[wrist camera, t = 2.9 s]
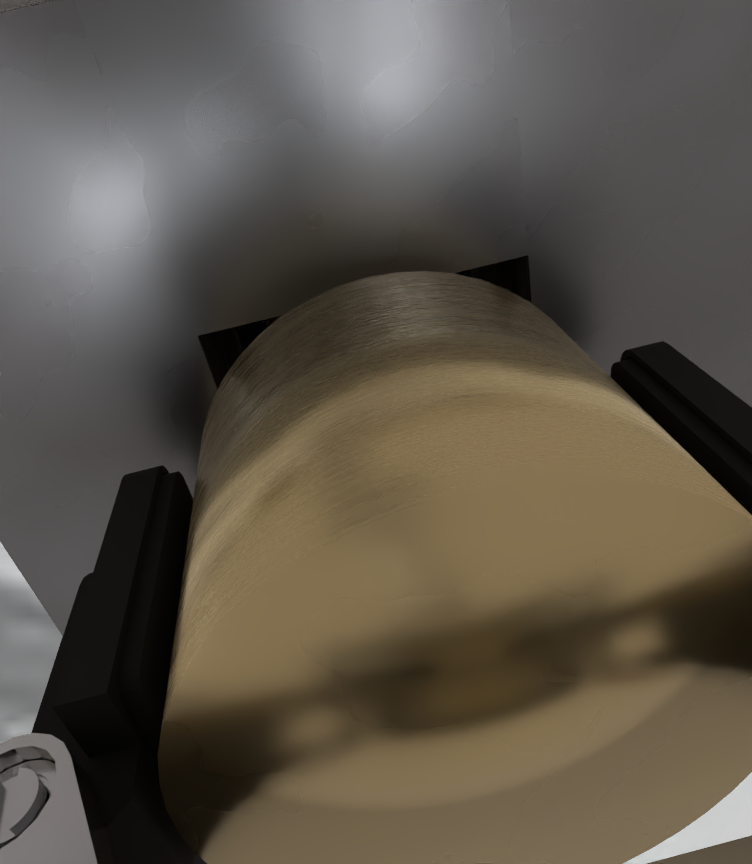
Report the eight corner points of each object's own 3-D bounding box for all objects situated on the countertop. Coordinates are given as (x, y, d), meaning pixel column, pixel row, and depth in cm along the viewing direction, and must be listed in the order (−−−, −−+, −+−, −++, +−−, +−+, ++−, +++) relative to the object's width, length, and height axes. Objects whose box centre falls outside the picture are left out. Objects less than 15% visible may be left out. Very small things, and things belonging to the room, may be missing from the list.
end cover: (173, 237, 13) (22, 603, 5) (486, 162, 13) (879, 387, 5) (264, 489, 17) (270, 969, 8) (513, 427, 17) (773, 833, 8)
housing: (-132, 67, 11) (-303, 82, 8) (677, -121, 11) (854, -184, 8) (169, 631, 19) (149, 766, 15) (655, 507, 19) (742, 612, 15)
